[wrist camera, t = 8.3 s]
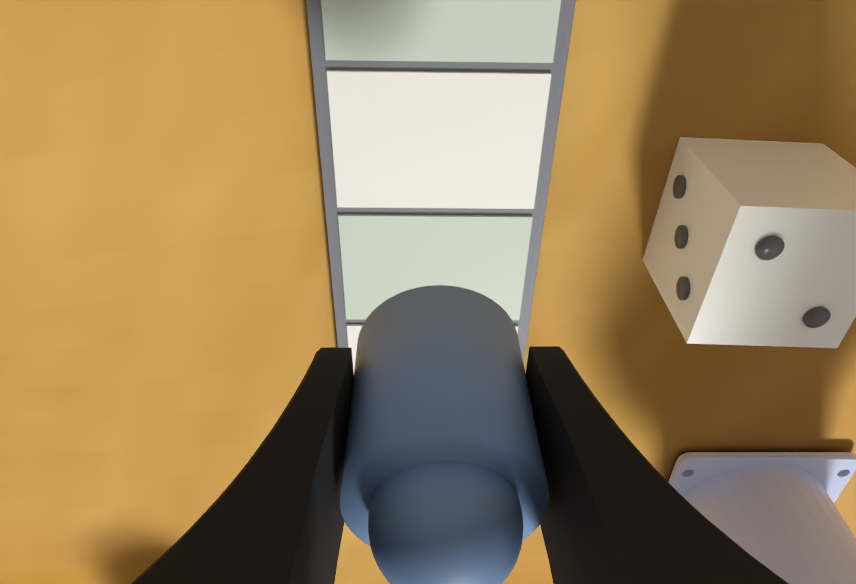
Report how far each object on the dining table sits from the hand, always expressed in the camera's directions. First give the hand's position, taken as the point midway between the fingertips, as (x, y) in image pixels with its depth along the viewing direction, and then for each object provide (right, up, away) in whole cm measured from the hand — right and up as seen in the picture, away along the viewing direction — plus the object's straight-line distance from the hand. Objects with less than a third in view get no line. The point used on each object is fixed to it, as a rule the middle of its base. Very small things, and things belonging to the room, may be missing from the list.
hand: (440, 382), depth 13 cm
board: (0, +5, +7) cm, 9 cm away
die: (+10, +5, +8) cm, 13 cm away
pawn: (0, +1, +1) cm, 1 cm away
